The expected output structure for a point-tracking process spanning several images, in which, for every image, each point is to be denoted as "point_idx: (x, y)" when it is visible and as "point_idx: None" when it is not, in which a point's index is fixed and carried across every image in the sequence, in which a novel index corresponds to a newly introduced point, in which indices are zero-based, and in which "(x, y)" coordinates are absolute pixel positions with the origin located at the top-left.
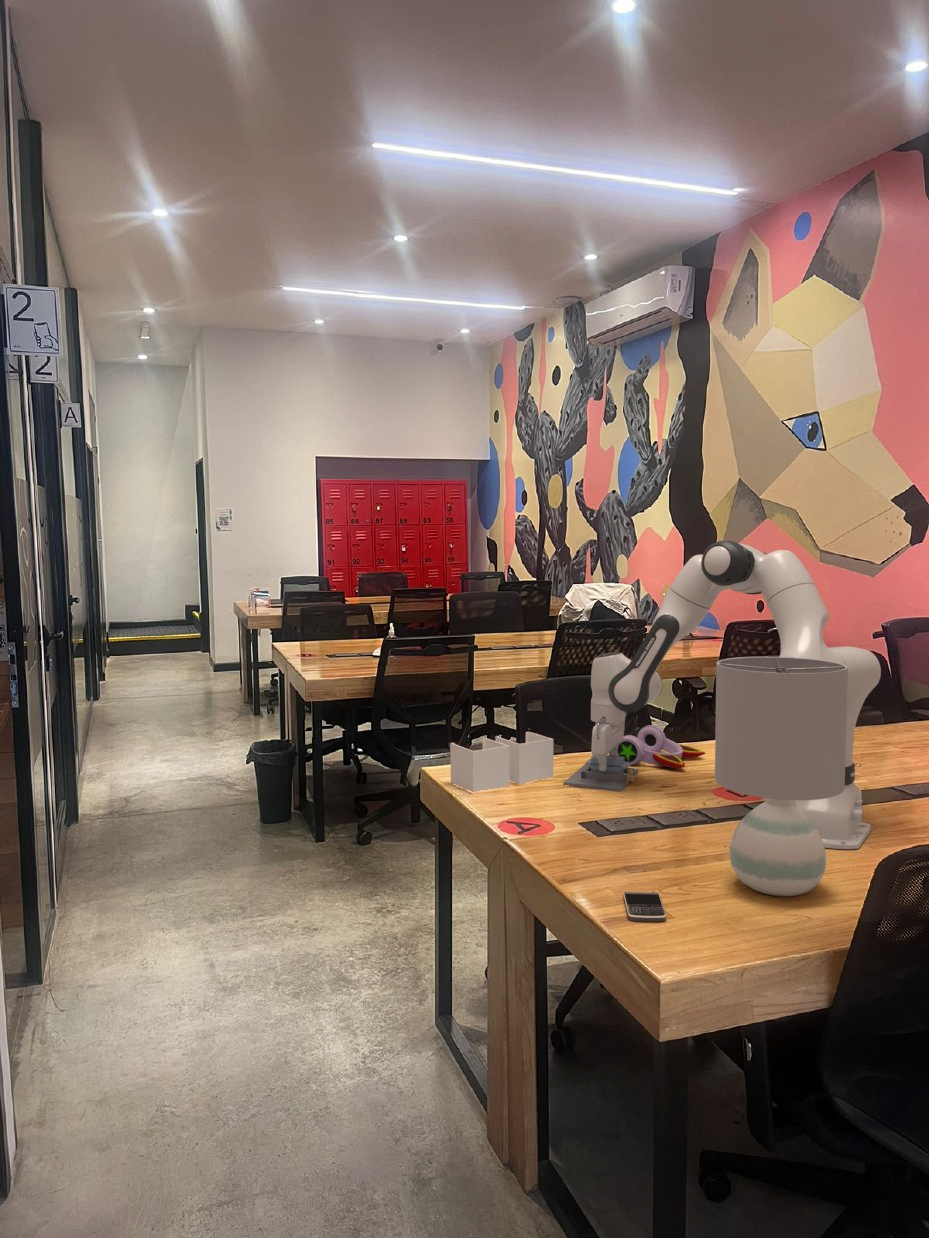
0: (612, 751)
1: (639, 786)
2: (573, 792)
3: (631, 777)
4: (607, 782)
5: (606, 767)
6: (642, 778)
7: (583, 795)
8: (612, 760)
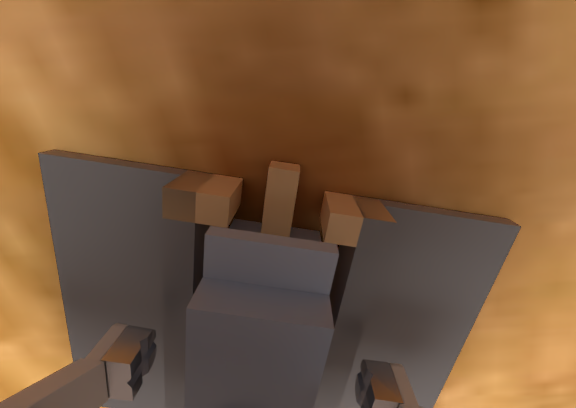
0: (72, 405)
1: (387, 121)
2: (513, 400)
3: (297, 184)
4: (394, 299)
5: (391, 375)
6: (190, 114)
7: (566, 366)
8: (318, 379)
